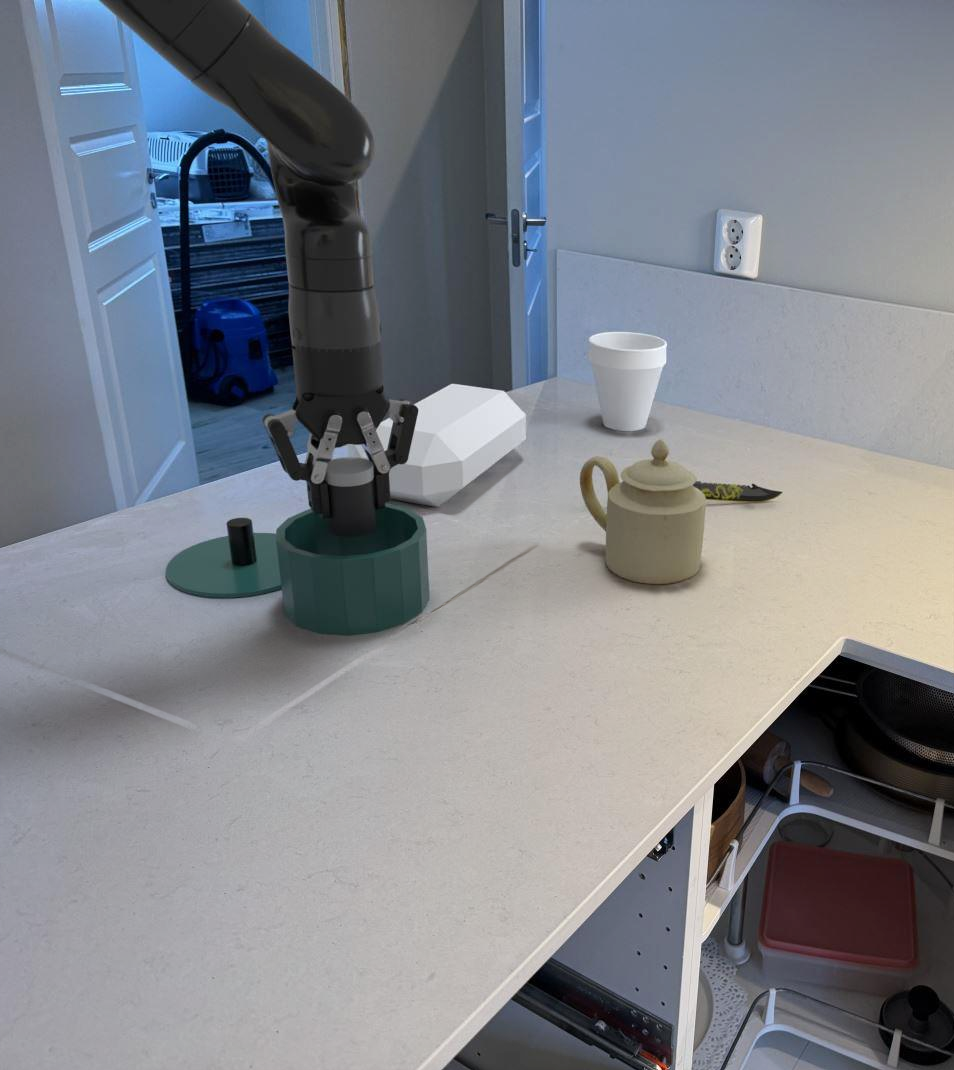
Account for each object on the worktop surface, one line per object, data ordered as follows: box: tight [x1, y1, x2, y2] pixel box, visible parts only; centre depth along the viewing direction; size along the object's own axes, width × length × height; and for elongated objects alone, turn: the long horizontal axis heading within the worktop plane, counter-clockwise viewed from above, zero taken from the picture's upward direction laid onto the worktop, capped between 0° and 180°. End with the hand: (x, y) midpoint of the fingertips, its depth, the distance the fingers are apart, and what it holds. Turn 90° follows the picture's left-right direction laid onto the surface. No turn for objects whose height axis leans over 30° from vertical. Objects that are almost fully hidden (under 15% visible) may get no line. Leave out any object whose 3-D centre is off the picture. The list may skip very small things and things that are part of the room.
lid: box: [165, 517, 282, 599], centre depth 103 cm, size 15×15×6 cm
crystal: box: [353, 383, 527, 508], centre depth 131 cm, size 14×10×28 cm
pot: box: [275, 502, 431, 637], centre depth 98 cm, size 14×14×8 cm
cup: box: [587, 331, 668, 432], centre depth 157 cm, size 12×12×14 cm
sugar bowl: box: [579, 438, 707, 585], centre depth 110 cm, size 15×11×15 cm
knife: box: [693, 480, 784, 503], centre depth 130 cm, size 23×2×5 cm, turn 107°
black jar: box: [324, 456, 376, 537], centre depth 95 cm, size 5×5×6 cm
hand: (350, 510), depth 95 cm, fingers closed on black jar, 4 cm apart
